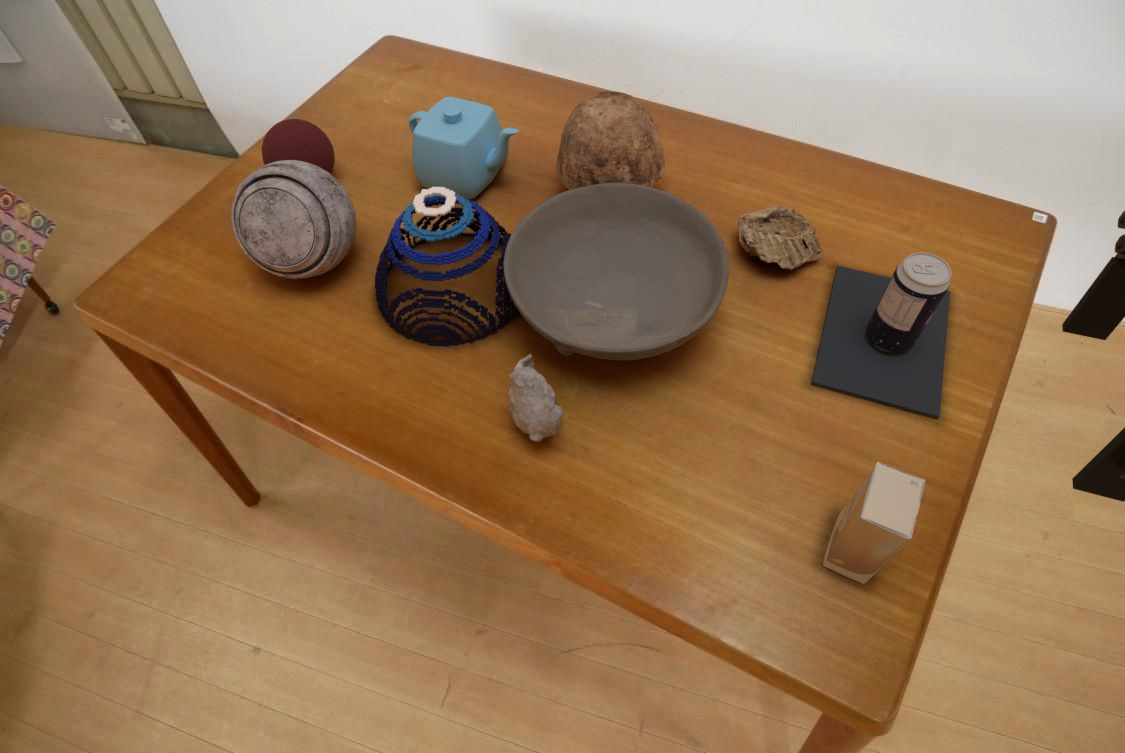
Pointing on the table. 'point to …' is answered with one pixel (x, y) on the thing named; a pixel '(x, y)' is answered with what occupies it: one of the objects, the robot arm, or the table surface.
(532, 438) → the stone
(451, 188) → the teapot
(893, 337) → the beverage can
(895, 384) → the slate mat
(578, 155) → the brown rounded lump
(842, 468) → the table surface
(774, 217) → the seashell
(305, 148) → the decorative ball
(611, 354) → the bowl
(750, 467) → the table surface
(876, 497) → the cosmetic box
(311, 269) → the decorative orb
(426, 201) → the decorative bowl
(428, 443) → the table surface
